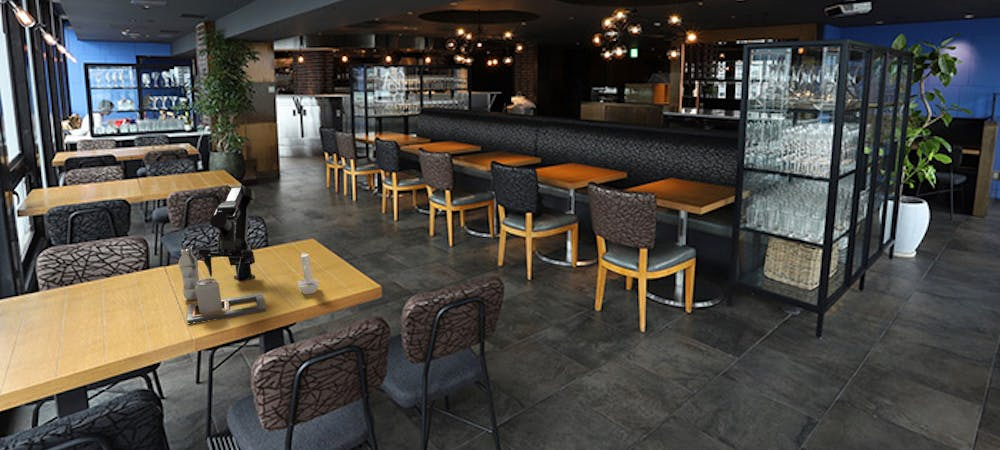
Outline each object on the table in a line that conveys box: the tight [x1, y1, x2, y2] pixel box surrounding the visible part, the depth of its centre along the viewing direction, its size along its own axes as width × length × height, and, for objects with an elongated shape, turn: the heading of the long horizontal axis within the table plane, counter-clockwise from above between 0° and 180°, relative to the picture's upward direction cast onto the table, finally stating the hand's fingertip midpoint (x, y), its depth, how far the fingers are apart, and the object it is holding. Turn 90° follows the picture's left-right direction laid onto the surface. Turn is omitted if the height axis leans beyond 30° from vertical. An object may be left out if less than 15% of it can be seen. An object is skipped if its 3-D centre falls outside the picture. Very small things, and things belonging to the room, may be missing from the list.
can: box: [195, 278, 223, 315], centre depth 212 cm, size 8×8×12 cm
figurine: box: [296, 252, 320, 295], centre depth 230 cm, size 7×9×15 cm
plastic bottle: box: [177, 246, 200, 301], centre depth 224 cm, size 6×7×20 cm
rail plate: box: [186, 292, 267, 324], centre depth 216 cm, size 25×15×2 cm, turn 115°
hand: (224, 276), depth 221 cm, fingers open, 9 cm apart
